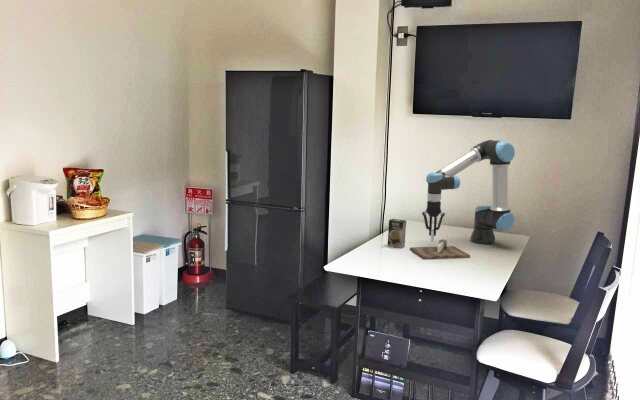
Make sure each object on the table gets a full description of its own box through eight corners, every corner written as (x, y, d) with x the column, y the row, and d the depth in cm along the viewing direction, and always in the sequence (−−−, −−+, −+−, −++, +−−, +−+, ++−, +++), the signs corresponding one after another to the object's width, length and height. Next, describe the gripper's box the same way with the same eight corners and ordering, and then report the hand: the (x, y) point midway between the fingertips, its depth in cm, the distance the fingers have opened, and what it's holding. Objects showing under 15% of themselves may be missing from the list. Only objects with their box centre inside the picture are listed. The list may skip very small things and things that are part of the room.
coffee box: (387, 246, 323) (388, 220, 320) (390, 244, 329) (392, 218, 326) (401, 248, 319) (403, 221, 316) (405, 246, 324) (406, 220, 322)
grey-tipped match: (439, 246, 319) (440, 239, 318) (447, 247, 317) (447, 240, 317) (434, 252, 305) (435, 245, 305) (442, 253, 304) (442, 246, 303)
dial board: (453, 248, 322) (453, 245, 322) (469, 257, 303) (470, 254, 303) (409, 249, 316) (409, 246, 316) (423, 259, 297) (423, 256, 297)
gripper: (421, 201, 303) (419, 241, 307) (445, 202, 299) (443, 243, 303) (423, 198, 310) (421, 238, 314) (446, 200, 306) (444, 240, 310)
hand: (432, 241), depth 309 cm, fingers closed
